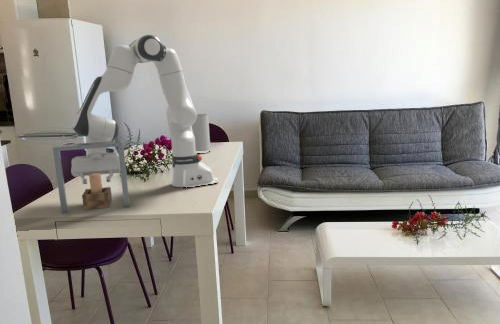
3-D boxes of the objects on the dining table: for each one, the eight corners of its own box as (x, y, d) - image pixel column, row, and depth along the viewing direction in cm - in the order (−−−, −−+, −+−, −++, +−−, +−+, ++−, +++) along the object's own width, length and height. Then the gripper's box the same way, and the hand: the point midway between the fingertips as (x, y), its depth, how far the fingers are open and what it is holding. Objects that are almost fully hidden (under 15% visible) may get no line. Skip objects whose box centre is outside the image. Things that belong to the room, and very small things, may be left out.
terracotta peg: (104, 200, 183) (101, 172, 181) (103, 203, 179) (99, 175, 177) (93, 201, 182) (89, 173, 180) (91, 204, 178) (88, 176, 176)
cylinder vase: (194, 150, 298) (191, 114, 293) (212, 150, 296) (210, 113, 291) (189, 154, 286) (186, 116, 281) (208, 153, 284) (205, 115, 279)
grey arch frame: (130, 202, 182) (123, 140, 176) (129, 206, 177) (122, 142, 171) (64, 209, 177) (55, 145, 172) (61, 213, 172) (52, 147, 166)
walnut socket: (112, 200, 187) (110, 186, 185) (109, 207, 177) (107, 193, 176) (87, 202, 185) (85, 189, 183) (83, 209, 175) (82, 195, 174)
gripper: (69, 153, 183) (68, 180, 176) (120, 149, 187) (120, 176, 180) (73, 161, 189) (72, 188, 181) (121, 157, 193) (122, 183, 185)
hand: (96, 182), depth 181 cm, fingers open, 8 cm apart
